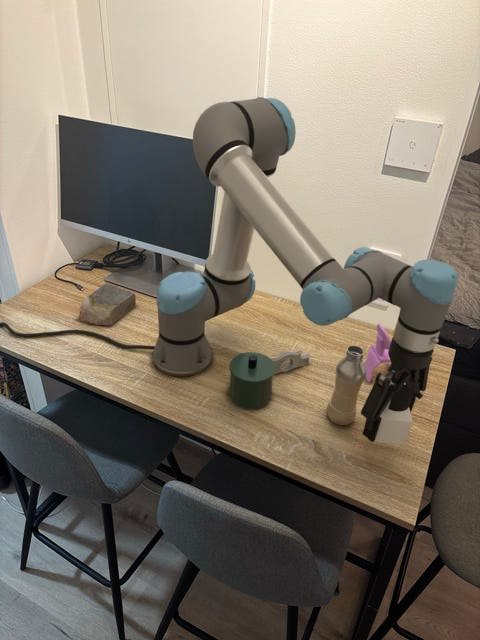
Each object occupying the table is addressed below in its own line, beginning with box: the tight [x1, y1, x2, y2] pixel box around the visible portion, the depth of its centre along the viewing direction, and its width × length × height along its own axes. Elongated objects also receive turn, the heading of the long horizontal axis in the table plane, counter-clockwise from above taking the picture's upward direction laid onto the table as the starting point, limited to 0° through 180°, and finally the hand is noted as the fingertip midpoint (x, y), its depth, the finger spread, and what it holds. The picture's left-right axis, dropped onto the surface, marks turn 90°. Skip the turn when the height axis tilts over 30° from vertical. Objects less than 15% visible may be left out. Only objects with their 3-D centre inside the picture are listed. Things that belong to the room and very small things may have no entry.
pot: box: [229, 372, 274, 410], centre depth 116 cm, size 10×10×8 cm
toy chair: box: [363, 323, 392, 383], centre depth 123 cm, size 8×9×15 cm
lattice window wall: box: [269, 348, 312, 375], centre depth 126 cm, size 12×2×6 cm, turn 117°
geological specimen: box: [78, 282, 137, 327], centre depth 144 cm, size 11×6×15 cm
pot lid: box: [228, 351, 275, 383], centre depth 113 cm, size 11×11×4 cm
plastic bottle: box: [326, 344, 366, 426], centre depth 108 cm, size 6×7×20 cm
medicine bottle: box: [373, 381, 414, 446], centre depth 99 cm, size 7×7×12 cm
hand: (385, 427), depth 102 cm, fingers closed on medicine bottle, 10 cm apart
